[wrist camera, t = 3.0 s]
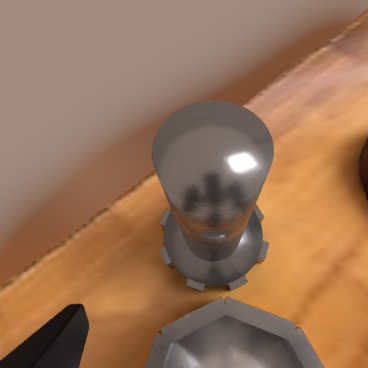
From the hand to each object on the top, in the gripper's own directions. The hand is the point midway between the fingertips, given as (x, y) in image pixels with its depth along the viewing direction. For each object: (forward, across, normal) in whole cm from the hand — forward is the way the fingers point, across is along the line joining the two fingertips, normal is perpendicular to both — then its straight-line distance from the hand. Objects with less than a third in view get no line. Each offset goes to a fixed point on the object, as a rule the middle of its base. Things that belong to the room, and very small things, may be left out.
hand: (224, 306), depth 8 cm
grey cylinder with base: (+11, 0, +5) cm, 12 cm away
